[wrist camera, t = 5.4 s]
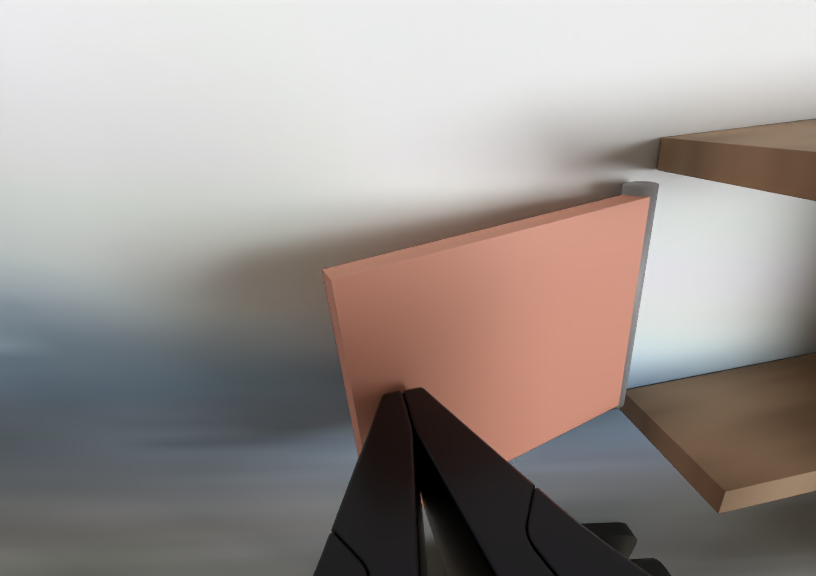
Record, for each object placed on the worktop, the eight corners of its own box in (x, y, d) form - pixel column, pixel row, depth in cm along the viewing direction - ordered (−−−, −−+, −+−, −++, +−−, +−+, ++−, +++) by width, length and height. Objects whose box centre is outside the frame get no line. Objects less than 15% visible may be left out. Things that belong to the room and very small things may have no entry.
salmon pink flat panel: (668, 184, 10) (328, 268, 7) (631, 403, 13) (378, 533, 10) (636, 180, 11) (316, 255, 8) (608, 388, 14) (366, 505, 10)
